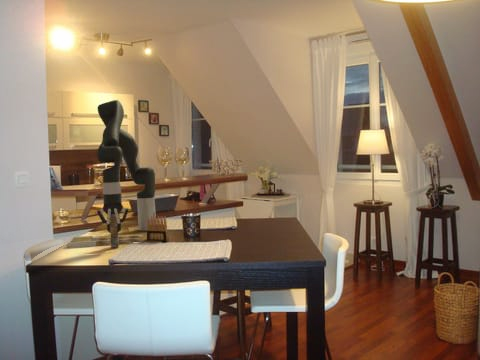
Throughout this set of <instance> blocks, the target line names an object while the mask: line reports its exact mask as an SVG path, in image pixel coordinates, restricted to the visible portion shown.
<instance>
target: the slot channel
mask: <svg viewBox="0 0 480 360" xmlns="http://www.w3.org/2000/svg"><path fill="white" fill-rule="evenodd" d="M118 236H119V235H118ZM143 236H144V235H143V234H135V235H131V234H130V235H120V236H119V246H123V245H130V244H129V243H133V242H142V243H143V238H144V237H143ZM110 238H111V236H103V237H102V236H101V237H99V238H98V241H96V246H95V247H107V246H108V247H111V240H110Z"/></svg>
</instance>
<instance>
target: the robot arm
mask: <svg viewBox="0 0 480 360" xmlns="http://www.w3.org/2000/svg"><path fill="white" fill-rule="evenodd" d="M97 114H98V116H99V118H100V119H101V121H102V122H103V124H104V126H105V128H104V130H103V132H102V140H101V142H100V144H99V147H98V148H97V151H96V159H97V160H98V161H99V162H100V163H102V164H110V163H113V166H111V167H108V168H104V169H103V170H102V198H103V201H102V202H103V206H102V208H101V209H98V210H97V211H96V212H97V215H98V217H99V219H100V220H101V222H102V224H106V229H107V230H106V231H107V232H108V233H109V234H110V215H112V214H115V215H116V219H117V223H118V224H117V229H118V233H120V232H121V230H122V225H121V224H122V223H124V222H125V220H126V218H127V215H128V213H129V210H130V209H129V208H128V207H127V208H126V207H124V206H123V203H122V188H121V187H122V185H121V182H120V181H121V180H120V179H121V177H120V168H121V164H122V163H121V162H122V158H123V160H124V162H125V164H126V167H127V169H128V171H129V173H130V174H129V175H130V176H131V179H132V181H133V182H134V184H135V185H138V186H144V188H143V189H142V190H140V191H138V192H137V193H136V203H137V220H138V221H137V223H138V231H140V232H141V231H142V232H144V231H145V232H147V218H148V216H149V218H150V224H151V216H152V217H153V224H154V216H155V217H156V216H157V215H156V203H155V200H156V198H155V193H156V174H155V170H154V169H153V168H152V167H140V166H139V165H138V162H137V157H138V154H139V153H138V152H139V146H138V144H137V142H136V140H135V138H134V137H133V135H132V134H130V133H129V132H127V131H125V130H124V129H122V128H121V127H122V124H123V122H124V121H123V120H124V116H125V110H124V107H123V104H122V103H121V101H120V100H118V99H114V100H113V99H112V100H111V101H107V102H103V103H101V104H98V106H97ZM122 210H123V211H122ZM121 212H122V213H123V215H122V218H121V216H120V213H121ZM104 213H105V214H106V216H107V217H106V218H105V216H104V215H103V214H104ZM156 218H157V217H156Z"/></svg>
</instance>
